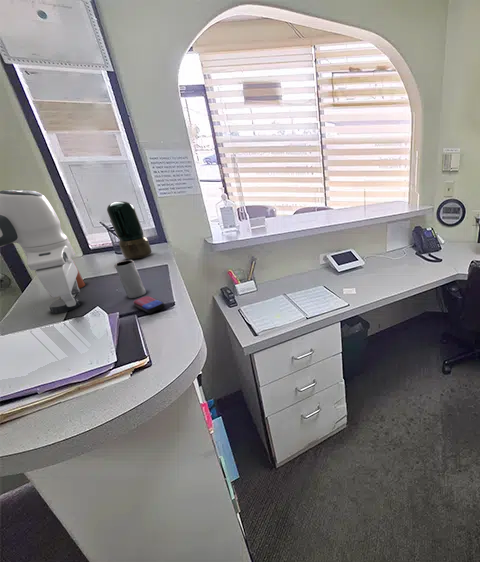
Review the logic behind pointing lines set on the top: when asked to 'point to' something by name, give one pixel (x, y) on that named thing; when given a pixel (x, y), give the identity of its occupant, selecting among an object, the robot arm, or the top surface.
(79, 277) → the jar
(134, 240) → the lamp
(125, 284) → the planter
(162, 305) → the eraser
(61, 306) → the jar lid
